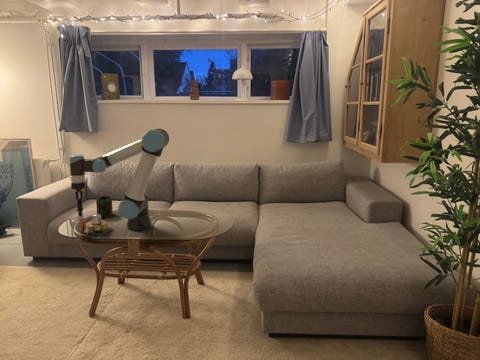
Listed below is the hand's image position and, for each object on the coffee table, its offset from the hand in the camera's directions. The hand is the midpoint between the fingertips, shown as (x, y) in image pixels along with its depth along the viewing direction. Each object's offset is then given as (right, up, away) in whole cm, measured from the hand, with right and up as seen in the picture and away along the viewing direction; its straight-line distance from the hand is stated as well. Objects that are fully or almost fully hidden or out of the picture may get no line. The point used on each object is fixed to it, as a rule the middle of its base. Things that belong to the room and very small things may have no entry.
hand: (80, 220), depth 220 cm
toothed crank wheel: (+7, -6, +2) cm, 9 cm away
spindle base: (+8, -7, +3) cm, 11 cm away
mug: (+1, 0, +34) cm, 34 cm away
